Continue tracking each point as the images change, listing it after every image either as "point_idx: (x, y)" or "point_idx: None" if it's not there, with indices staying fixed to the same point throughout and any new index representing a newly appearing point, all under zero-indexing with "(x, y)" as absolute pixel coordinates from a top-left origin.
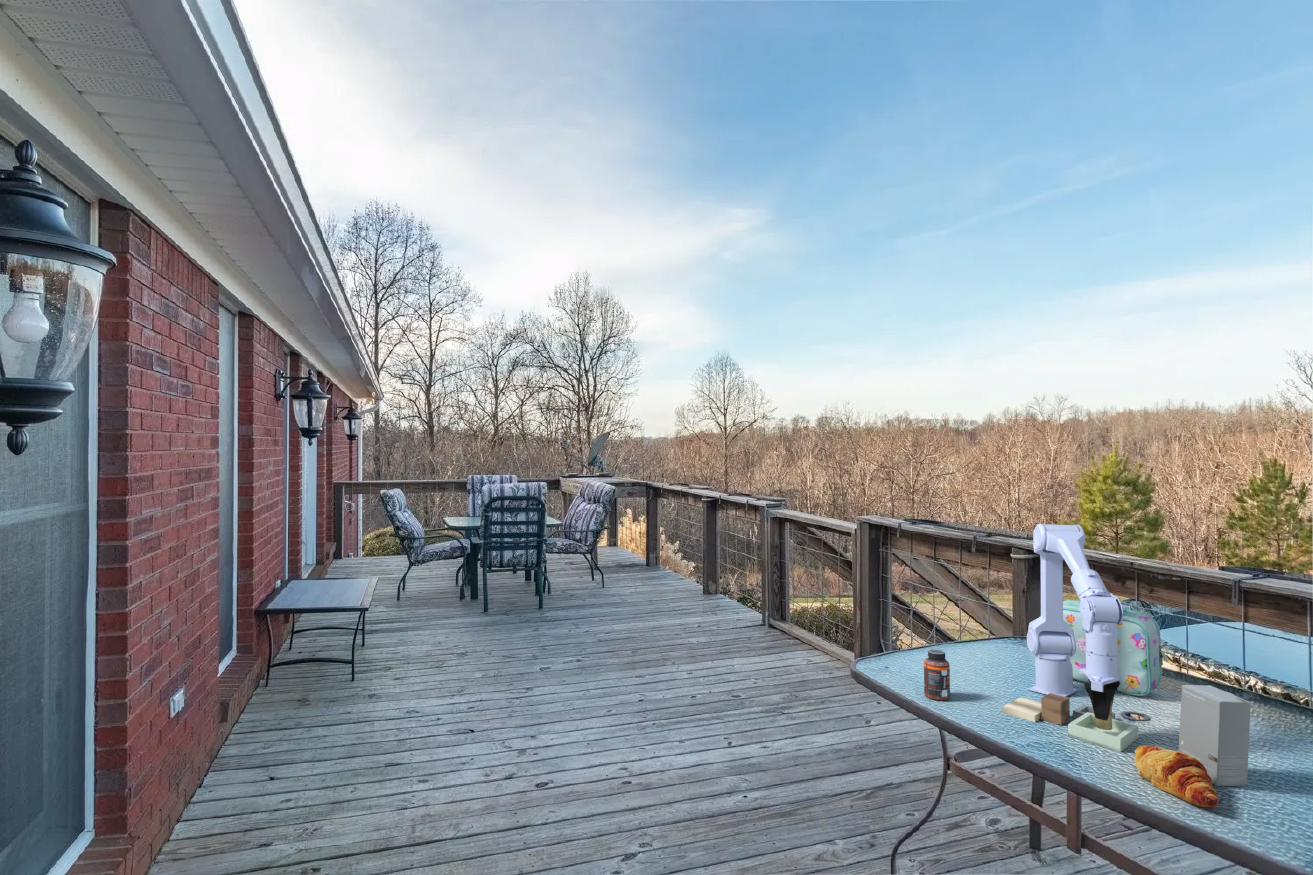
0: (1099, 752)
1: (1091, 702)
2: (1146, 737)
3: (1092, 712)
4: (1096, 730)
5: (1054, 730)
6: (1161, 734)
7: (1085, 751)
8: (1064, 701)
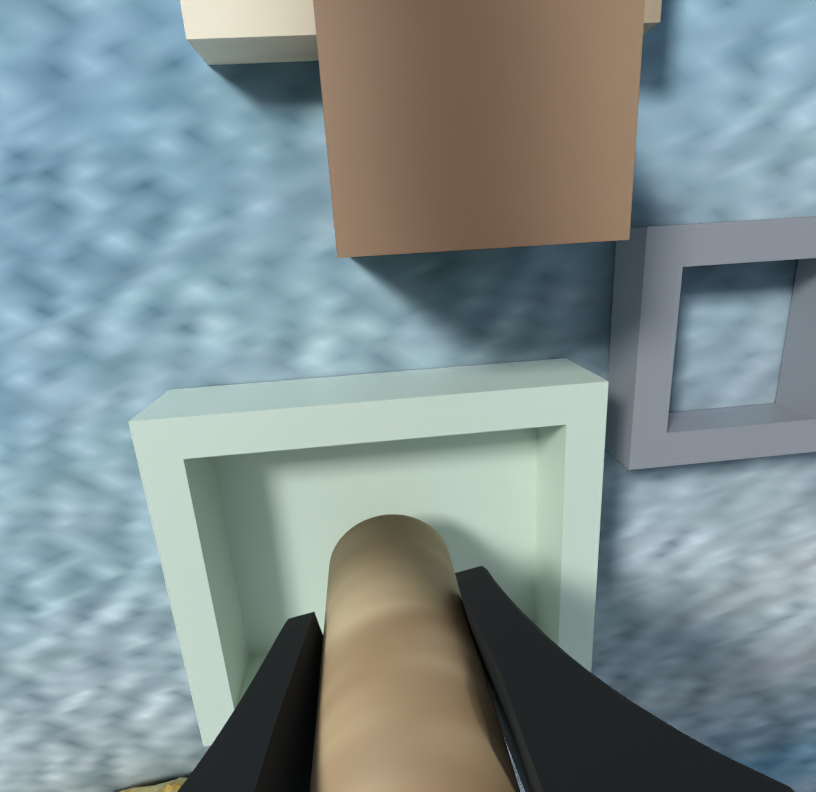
0: (98, 615)
1: (206, 752)
2: (606, 644)
3: (807, 298)
4: (424, 479)
5: (188, 269)
6: (721, 663)
7: (20, 567)
8: (467, 248)
